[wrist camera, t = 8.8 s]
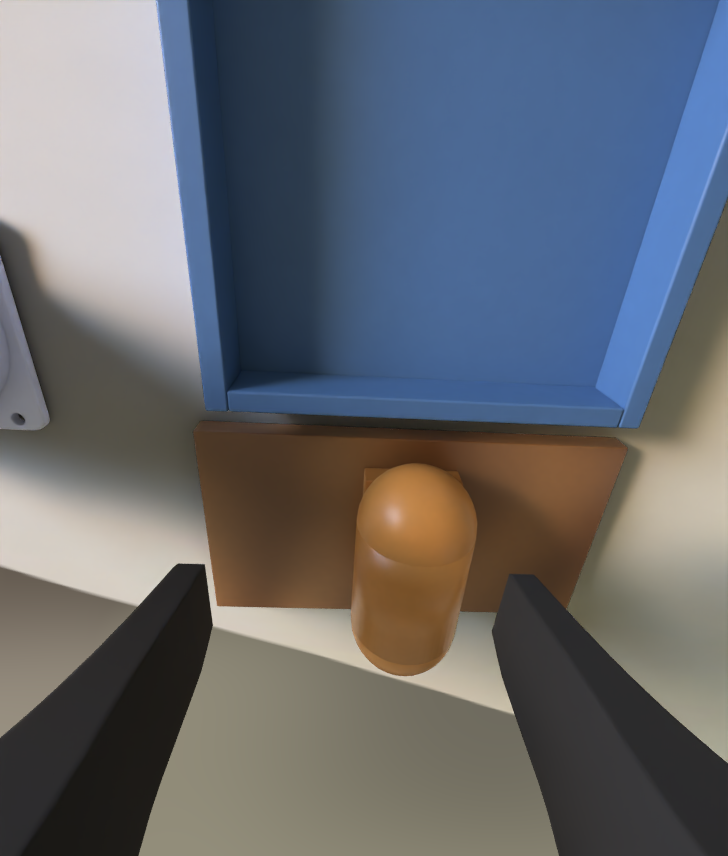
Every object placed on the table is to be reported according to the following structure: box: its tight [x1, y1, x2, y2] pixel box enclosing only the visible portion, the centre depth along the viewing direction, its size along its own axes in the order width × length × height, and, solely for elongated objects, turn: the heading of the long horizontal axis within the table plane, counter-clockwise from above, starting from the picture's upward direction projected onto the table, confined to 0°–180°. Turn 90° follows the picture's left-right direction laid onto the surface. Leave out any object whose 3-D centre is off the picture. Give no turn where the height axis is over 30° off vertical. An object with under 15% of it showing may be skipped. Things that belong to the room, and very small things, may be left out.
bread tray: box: [156, 0, 728, 428], centre depth 13 cm, size 16×16×3 cm
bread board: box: [193, 421, 628, 612], centre depth 20 cm, size 18×10×1 cm, turn 87°
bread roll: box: [351, 463, 477, 676], centre depth 18 cm, size 5×10×5 cm, turn 177°
